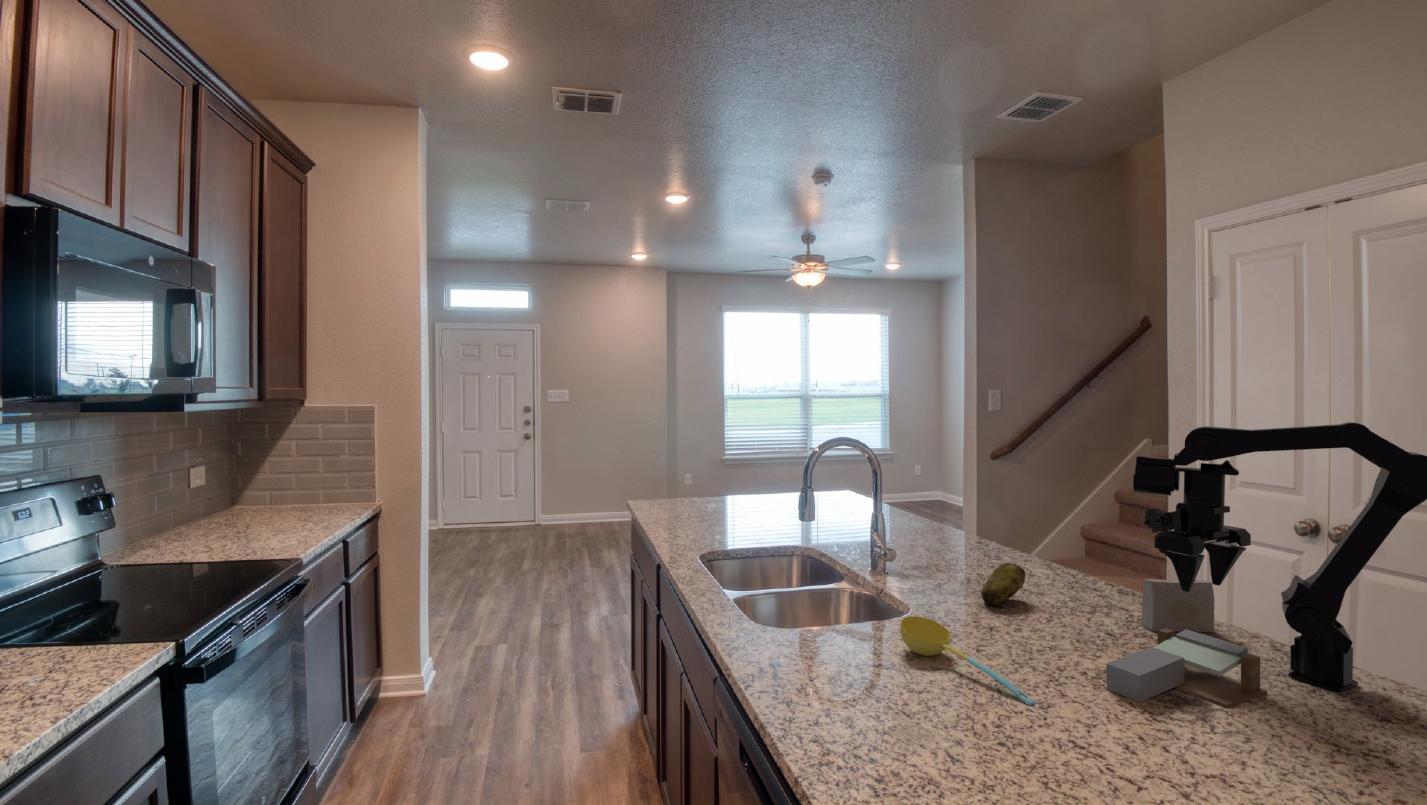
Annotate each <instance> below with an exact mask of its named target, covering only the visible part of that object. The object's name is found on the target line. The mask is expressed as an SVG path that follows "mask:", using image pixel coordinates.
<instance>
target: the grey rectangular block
mask: <svg viewBox="0 0 1427 805" xmlns="http://www.w3.org/2000/svg"><path fill="white" fill-rule="evenodd" d="M1153 647H1154V646H1153ZM1153 647H1152V646H1149V647H1146V648H1143V649H1142V650H1138V651H1136V652H1134V653H1131V654H1128V655H1125V656H1123V657H1119V658H1118V659H1115V660H1113V661H1110V662H1107V663H1106V665H1105V666H1106V669H1105V671H1106V690H1108V691H1111V692H1114V693H1115V694H1117V695H1121V696H1123V697H1125V698H1128V699H1131V700H1134V701H1136V702H1139V703H1142V702H1145V701H1147V700H1149V699H1151V698H1154V697H1155V696H1158V695H1160V694H1162V693H1164V692H1167V691H1168V690H1171V689H1175V688H1174V687H1176V686H1178V685H1180V684H1183V683H1184V657H1181V656H1178V655H1174V654H1171V653H1168V652H1165V651H1162V650H1159V649H1156V648H1153Z"/></svg>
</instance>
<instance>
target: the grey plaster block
mask: <svg viewBox="0 0 1427 805" xmlns="http://www.w3.org/2000/svg"><path fill="white" fill-rule="evenodd" d="M1143 579H1144V580H1143V588H1142V604H1141V608H1142V609H1141V610H1142V612H1141V620H1140V625H1141V626H1142V627H1143V628H1145V629H1147V630H1149V631H1151V632H1153V633H1154V632H1156V633H1157V630H1160V629H1164V628H1167V629H1171V630H1174V631H1175V633H1177V632H1178V633H1180V632H1182V631H1184V630H1185V629H1187V630H1190V631H1193V632H1197V633H1214V632H1215V595H1214V594H1215V593H1214V589H1213V583H1212V581H1208V580H1205V579H1195V582H1194V584H1193V586H1192V588H1191V591H1190V592H1186V591H1183V590H1182V588H1181V586H1180V583H1179V580H1178V579H1160V578H1159V579H1158V578H1155V579H1153V578H1152V579H1151V578H1143Z"/></svg>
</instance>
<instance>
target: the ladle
mask: <svg viewBox="0 0 1427 805" xmlns="http://www.w3.org/2000/svg"><path fill="white" fill-rule="evenodd" d="M899 625H900V628H899V634H900V635H901V638H902V641H903V642H904V644H905V645H906V646H907V647H908V649H909V650H910V651H912V652H914V653H915V654H917V655H920V656H926V657H933V656H935V655H938V654H942V652H943V651H944V650H947V651H949V652H951V653H953V654H954V655H956V656H958V657H960V658H961V659H963V660H965V662H967V663H969V664H971V666H972V665H973V666H974V667H975V668H978V669H979V670H981V671H982V672H984V673H985V674H986V675H989V676H990V677H991V678H992V679H994V680H995V681H997V682H998V683H1000V684H1001V685H1002V686H1003V687H1005V689H1007V690H1008V691H1010V692H1011V693H1012V694H1013V695H1014V696H1016V697H1018V698H1019V699H1020V700H1021V701H1022V702H1023V703H1025V705H1027V706H1034V705H1035V704H1036V702H1035V701H1034V700H1033V699H1032V698H1030V696H1028V695H1027V694H1025V692H1023V691H1022V690H1021V689H1019V688H1018V687H1017V686H1016V685H1014V684H1013V683H1011V682H1010V681H1009V680H1008V679H1006V678H1004V677H1003V676H1002V675H1000V674H999V673H997V672H996V671H994V670H993V669H991V668H990V667H988V666H986V665H984V664H983V663H981V662H979V661H977V660H975V659H974V658H973V657H971V656H968V655H966V654H965V653H962V652H961V651H959V650H957V649H955V648H954V647H951V646H950V642H951V640H952V634H951V632H950V631H949V629H948V628H946V627H945V626H944V625H942V624H941V623H939V622H938V621H936V620H933V619H930V618H927V617H922V616H916V615H915V616H914V615H912V616H911V615H910V616H906V617H903V618H902V619H901V620H900V624H899ZM1022 696H1023V697H1022Z"/></svg>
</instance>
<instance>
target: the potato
mask: <svg viewBox="0 0 1427 805" xmlns="http://www.w3.org/2000/svg"><path fill="white" fill-rule="evenodd" d="M1025 581H1026V570H1025V569H1024V568H1022V567H1021V566H1020V565H1018V564H1016V563H1013V562H1012V563H1011V562H1010V563H1009V562H1005V563H1001V564H999V565H998V566H997V567H996V568H995V569H994V570H993V571H992V573H991V574H990V575H989V577H988V579H987V580H986V581H985V583H984V584H983V586H982V588H981V591H980V594H981V598H982V600H983V602H984V603H985V604H986V605H987V604H988V605H989V606H998V605H1000V604H1002V603H1004V602H1006V601H1008V600H1009V599H1011V598H1012V597H1014V595H1015V594H1017V592H1018V591H1019V590H1020V589H1022V588H1023V587H1024V586H1023V585H1025V584H1024V583H1025Z"/></svg>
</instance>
